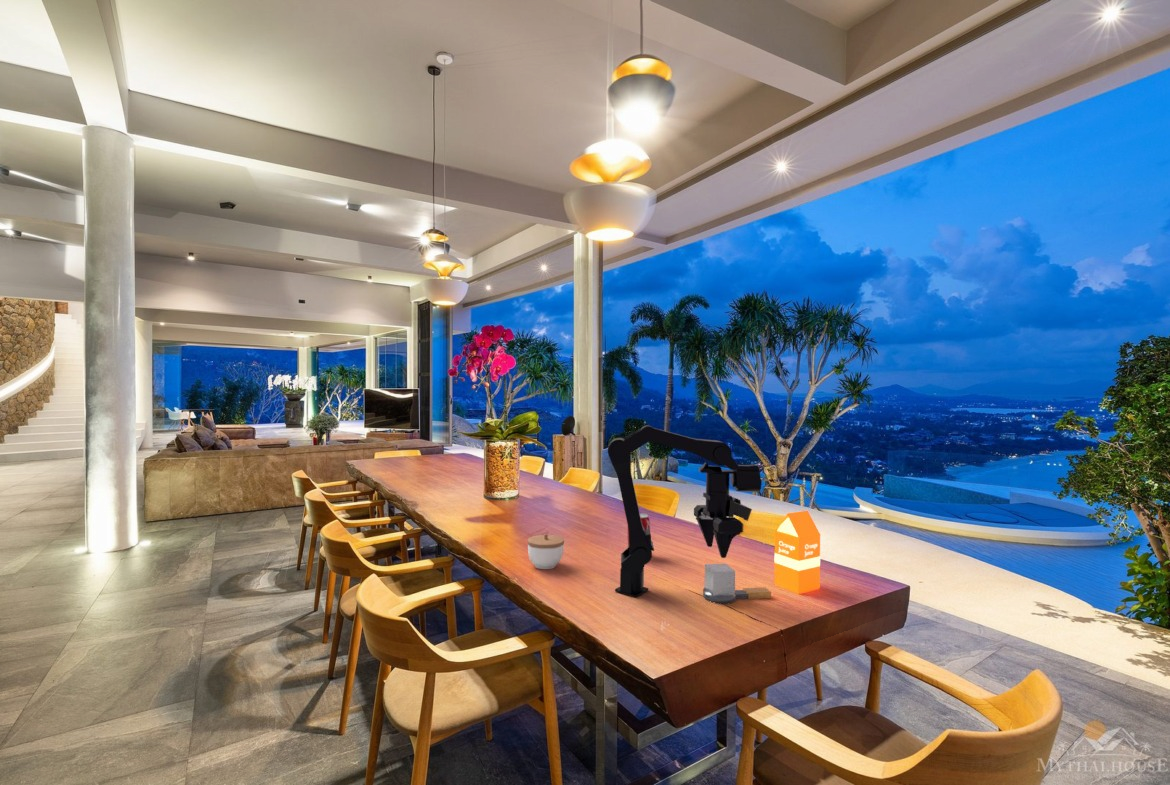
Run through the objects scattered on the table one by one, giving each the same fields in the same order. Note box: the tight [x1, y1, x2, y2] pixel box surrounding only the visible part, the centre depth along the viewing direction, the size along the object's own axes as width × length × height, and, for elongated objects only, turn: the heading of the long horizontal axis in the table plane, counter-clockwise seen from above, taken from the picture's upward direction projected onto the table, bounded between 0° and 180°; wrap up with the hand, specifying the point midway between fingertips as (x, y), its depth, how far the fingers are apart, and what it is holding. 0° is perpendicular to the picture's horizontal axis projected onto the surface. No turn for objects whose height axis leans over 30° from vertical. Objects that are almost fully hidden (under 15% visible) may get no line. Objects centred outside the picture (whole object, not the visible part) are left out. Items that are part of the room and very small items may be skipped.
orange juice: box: [773, 510, 821, 595], centre depth 134 cm, size 8×9×20 cm
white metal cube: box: [704, 563, 736, 596], centre depth 126 cm, size 6×6×6 cm
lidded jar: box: [527, 533, 565, 570], centre depth 147 cm, size 11×11×9 cm
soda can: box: [626, 512, 651, 549], centre depth 158 cm, size 7×7×13 cm
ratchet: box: [702, 587, 772, 605], centre depth 126 cm, size 17×8×4 cm, turn 97°
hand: (716, 552), depth 127 cm, fingers open, 9 cm apart
